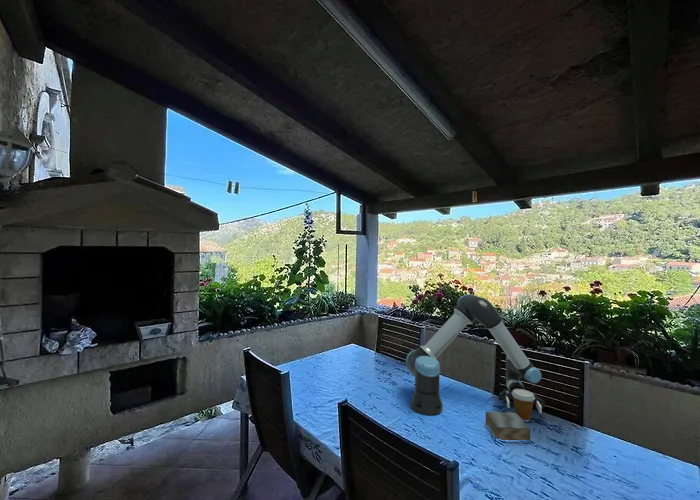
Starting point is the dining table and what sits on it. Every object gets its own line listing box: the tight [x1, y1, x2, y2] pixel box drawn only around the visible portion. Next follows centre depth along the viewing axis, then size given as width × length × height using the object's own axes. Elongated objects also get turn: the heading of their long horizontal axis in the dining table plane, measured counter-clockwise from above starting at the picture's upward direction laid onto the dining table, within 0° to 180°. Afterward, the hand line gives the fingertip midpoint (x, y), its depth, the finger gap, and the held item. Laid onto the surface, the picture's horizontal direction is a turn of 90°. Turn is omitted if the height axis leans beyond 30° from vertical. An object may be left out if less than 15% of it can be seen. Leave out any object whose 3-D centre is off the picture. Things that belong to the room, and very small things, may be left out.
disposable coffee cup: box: [512, 389, 535, 420], centre depth 151 cm, size 10×10×12 cm
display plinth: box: [485, 410, 531, 441], centre depth 138 cm, size 13×13×6 cm
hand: (524, 407), depth 148 cm, fingers open, 12 cm apart
